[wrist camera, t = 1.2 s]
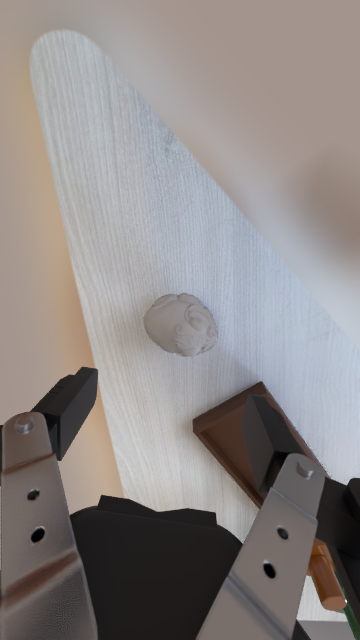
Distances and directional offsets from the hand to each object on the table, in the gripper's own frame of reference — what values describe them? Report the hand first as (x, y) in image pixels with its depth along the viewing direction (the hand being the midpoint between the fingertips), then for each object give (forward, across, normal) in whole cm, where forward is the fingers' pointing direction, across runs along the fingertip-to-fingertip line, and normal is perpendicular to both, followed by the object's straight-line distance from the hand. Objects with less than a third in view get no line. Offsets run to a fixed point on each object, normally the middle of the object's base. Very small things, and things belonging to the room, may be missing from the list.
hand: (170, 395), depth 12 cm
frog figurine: (+15, 0, 0) cm, 15 cm away
